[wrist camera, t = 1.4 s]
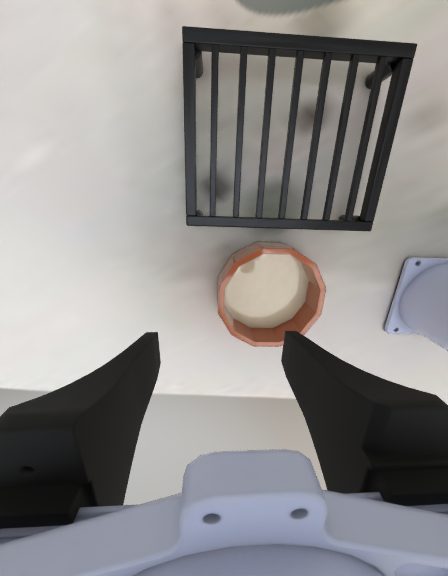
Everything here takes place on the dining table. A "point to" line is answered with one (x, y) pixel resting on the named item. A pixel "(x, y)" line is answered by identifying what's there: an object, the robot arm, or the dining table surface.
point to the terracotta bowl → (269, 293)
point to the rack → (388, 62)
